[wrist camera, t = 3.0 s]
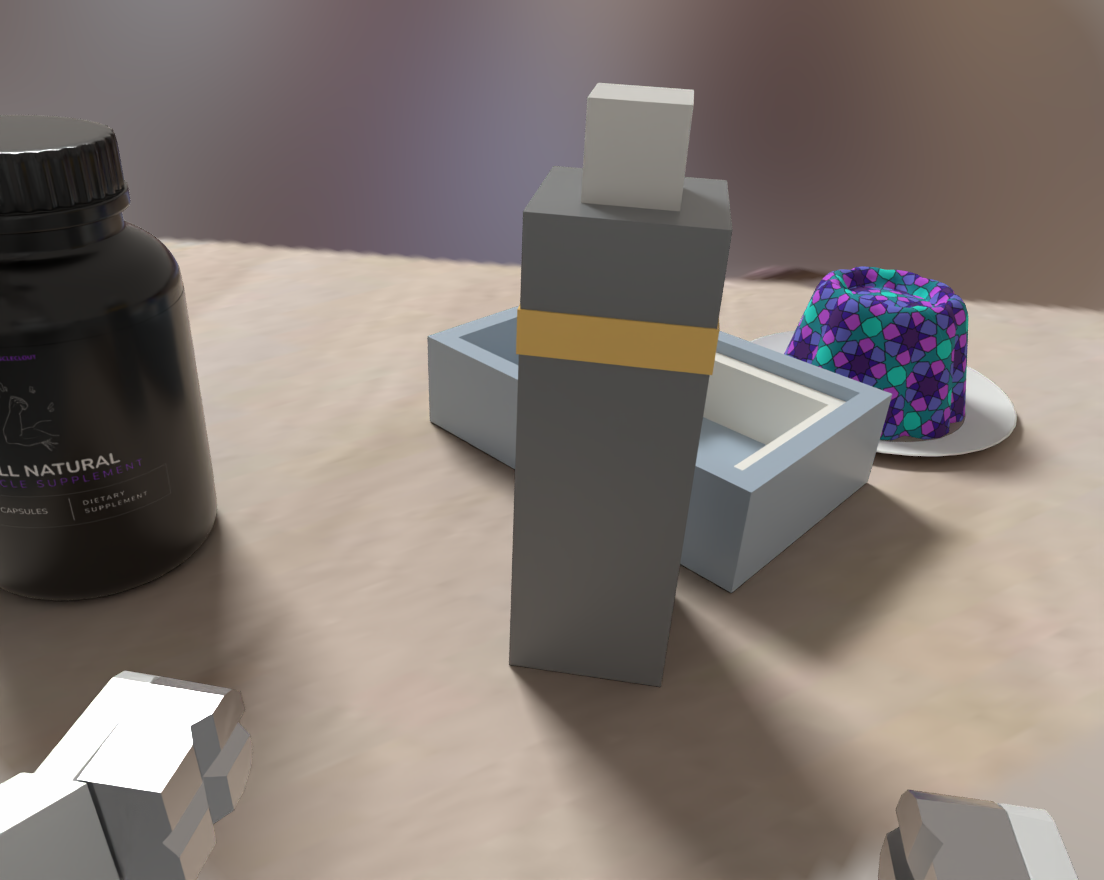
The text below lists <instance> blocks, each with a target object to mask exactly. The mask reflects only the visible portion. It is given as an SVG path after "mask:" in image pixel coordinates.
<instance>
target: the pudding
mask: <svg viewBox="0 0 1104 880" xmlns="http://www.w3.org/2000/svg"><path fill="white" fill-rule="evenodd" d="M750 342H752V343H754V344H757V345H760V346H763V347H765V348H768V349H771V350H773V351H776V352H779V353H782V354H784V355H787V356H790V357H793V358H795V359H798V360H801V361H804V362H806V363H809V364H812V365H815V366H817V367H820V368H823V369H826V370H828V371H831V372H834V373H836V374H839V375H842V376H845V377H847V378H850V379H853V380H856V381H858V382H861V383H864V384H867V385H869V386H872V387H875V388H878V389H880V390H883V391H886V392H888V393H891V394H892V397H891V401H890V404H889V408H888V411H887V415H886V419H885V422H884V426H883V429H882V433H881V436H880V440H879V443H878V447H877V451H876V452H881V453H889V454H898V455H908V456H948V455H960V454H966V453H970V452H975V451H980V450H984V449H986V448H989V447H991V446H994V445H996V444H998V443H1000V442H1001V441H1003V440H1004V439H1005V438H1007V437H1008V436H1009V435H1010V434H1011V433H1012V431H1013V429H1014V428H1015V426H1016V419H1017V414H1016V411H1015V408H1014V405H1013V403H1012V402H1011V400H1010V399H1009V398H1008V396H1007V395H1006V393H1005V392H1004V391H1002V390H1001V389H1000V388H999V387H998V386H997V385H996V384H995V383H994V382H992V381H991V380H989V379H988V378H987V377H985V376H984V375H982V374H981V373H979V372H978V371H976V370H974V369H972V368H970V367H968V366H967V344H968V312H967V309H966V305H965V303H964V302H963V300H962V299H961V298H960V297H959V296H958V295H956V294H954V291H953V290H952V289H951V288H950V287H949V286H947V285H946V284H944V283H941V282H939V281H936V280H932V279H926V278H923V277H921V276H919V275H918V274H914V273H911V272H907V271H901V270H884V269H880V268H876V267H855V268H853V269H852V270H836V271H832V272H831V273H829V274H827V275H826V276H825V277H824V278H823V279H822V280H821V282H820V283H819V284H818V286H817V287H816V289H815V291H814V293H813V295H812V297H811V299H810V302H809V304H808V306H807V308H806V310H805V312H804V314H803V316H802V318H801V320H800V322H799V324H798V326H797V328H796V330H795V331H790V332H782V333H776V334H771V335H767V336H763V337H760V338H758V339H755V340H753V341H750ZM965 414H966V416H965ZM964 416H965V421H964V423H963V424H962V426H961V427H960V428H959V429H958V430H956V431H955V432H953V433H952V434H950V435H947V436H944V435H946V434H947V433H949V424H950V423H954V422H960V421H962V419H963V418H964ZM903 435H905V436H910V437H915V438H920V439H933V438H938V439H933V440H928V441H917V442H891V441H881V440H894V439H896V438H899V437H901V436H903ZM942 436H944V437H942ZM940 437H942V438H940Z"/></svg>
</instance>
